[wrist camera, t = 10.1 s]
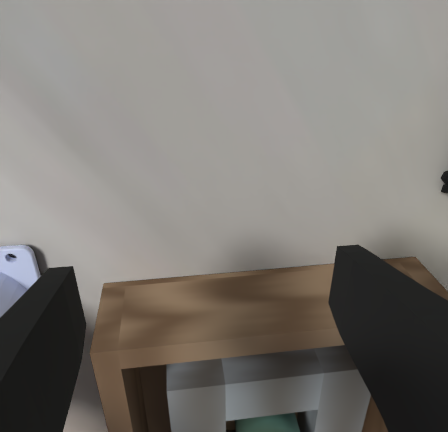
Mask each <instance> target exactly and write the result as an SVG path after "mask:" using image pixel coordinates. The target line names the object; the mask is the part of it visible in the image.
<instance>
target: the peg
mask: <svg viewBox="0 0 448 432" xmlns="http://www.w3.org/2000/svg"><path fill="white" fill-rule="evenodd" d="M234 421H235V428H236V432H300V429H299V426H298V422H297V419H296V415H295V413H287V414H279V415H271V416H263V417H255V418H247V419H239V420H234Z"/></svg>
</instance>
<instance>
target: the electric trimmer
mask: <svg viewBox="0 0 448 432" xmlns="http://www.w3.org/2000/svg"><path fill="white" fill-rule="evenodd" d="M441 179H442V180H443V181H444V182H445V183H446V184H445V185H443V188H442V190H441V192H444V193H448V171H445V172H444V173H443V175H442V177H441Z"/></svg>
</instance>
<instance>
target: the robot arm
mask: <svg viewBox="0 0 448 432" xmlns="http://www.w3.org/2000/svg"><path fill="white" fill-rule="evenodd" d="M8 254H14V255H15V256H16V258H12V257H10V256H9V255H8ZM328 303H329V306H330V309H331V312H332V315H333V318H334V321H335V324H336V326H337V329H338V332H339V334H340V336H341V338H342V340H343V342H344V344H345V346H346V348H347V350H348V352H349V354H350V356H351V358H352V360H353V362H354V364H355V365H356V367H357V369H358V371H359V373H360V375H361V377H362V379H363V381H364V383H365V385H366V386H367V388H368V390H369V392H370V394H371V396H372V398H373V400H374V402H375V404H376V406H377V408H378V410H379V412H380V414H381V416H382V418H383V420H384V423H385V425H386V428H387V430H388V432H448V300H446V299H445V298H443V297H441V296H439V295H437V294H436V293H434V292H432V291H431V290H429V289H427V288H426V287H424V286H423V285H421V284H419V283H418V282H416V281H415V280H413V279H411V278H410V277H408V276H407V275H405V274H404V273H402V272H400V271H399V270H397V269H396V268H394V267H393V266H391V265H390V264H388V263H387V262H385V261H384V260H382V259H380V258H379V257H377V256H376V255H374V254H373V253H371V252H369V251H368V250H366V249H364V248H363V247H361V246H359V245H349V246H337V251H336V257H335V263H334V269H333V276H332V282H331V288H330V294H329V301H328ZM85 329H86V322H85V317H84V313H83V309H82V304H81V300H80V295H79V291H78V286H77V282H76V278H75V273H74V269H73V266H70V267H57V268H49V269H48V270H47V271H46V272H44V273H43V275H42V276H41V275H40V272H39V268H38V264H37V261H36V257H35V254H34V251H33V250H32V249H31V248H30V247H29V246H26V245H13V246H0V432H63V429H64V425H65V421H66V417H67V414H68V410H69V406H70V402H71V399H72V395H73V391H74V387H75V383H76V380H77V376H78V372H79V368H80V364H81V360H82V353H83V346H84V338H85Z"/></svg>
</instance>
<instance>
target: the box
mask: <svg viewBox="0 0 448 432" xmlns="http://www.w3.org/2000/svg"><path fill="white" fill-rule="evenodd" d="M384 261H385V262H387V263H388V264H390V265H391V266H393V267H394V268H396V269H397V270H399V271H400V272H402V273H404V274H405V275H407V276H408V277H410V278H411V279H413V280H415V281H416V282H418V283H419V284H421V285H423V286H424V287H426V288H427V289H429V290H431V291H432V292H434V293H436V294H437V295H439V296H441V297H443V298H445V299H446V300H448V292H447V290H446V289H445V288H444V287H443V286H442V285H441V284H440V283H439V282H438V281H437V280H436V279H435V278H434V276H433V275H432V274H431V273H430V272H429V271H428V270H427V269H426V268H425V267H424V266H423V265H422V264H421V262H420V261H419V260H418V259H417V258H416V257H407V258H396V259H384ZM333 269H334V264H326V265H314V266H302V267H291V268H279V269H267V270H256V271H244V272H232V273H221V274H209V275H197V276H186V277H174V278H162V279H151V280H139V281H127V282H116V283H104V284H103V289H102V294H101V299H100V304H99V309H98V314H97V319H96V324H95V329H94V334H93V339H92V344H91V349H90V357H91V361H92V365H93V369H94V374H95V378H96V382H97V386H98V390H99V394H100V399H101V403H102V407H103V411H104V415H105V420H106V424H107V428H108V432H236V428H235V421H234V420H239V419H247V418H255V417H263V416H271V415H279V414H287V413H295V415H296V419H297V422H298V426H299V429H300V432H388V430H387V428H386V425H385V423H384V420H383V418H382V416H381V414H380V412H379V410H378V408H377V406H376V404H375V402H374V400H373V398H372V396H371V394H370V392H369V390H368V388H367V386H366V385H365V383H364V381H363V379H362V377H361V375H360V373H359V371H358V369H357V367H356V365H355V364H354V362H353V360H352V358H351V356H350V354H349V352H348V350H347V348H346V346H345V344H344V342H343V340H342V338H341V336H340V334H339V332H338V329H337V326H336V324H335V321H334V318H333V315H332V312H331V309H330V306H329V303H328V301H329V294H330V288H331V282H332V276H333Z"/></svg>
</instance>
